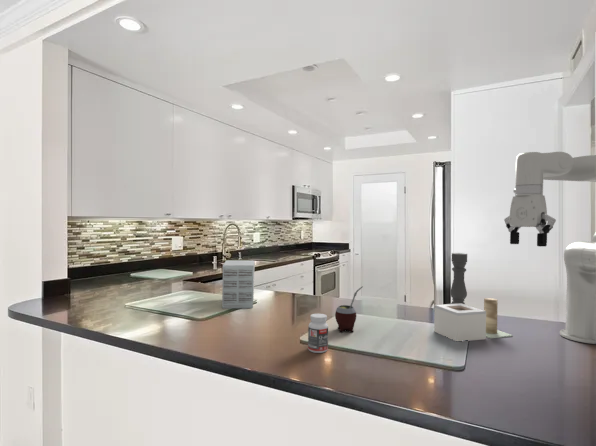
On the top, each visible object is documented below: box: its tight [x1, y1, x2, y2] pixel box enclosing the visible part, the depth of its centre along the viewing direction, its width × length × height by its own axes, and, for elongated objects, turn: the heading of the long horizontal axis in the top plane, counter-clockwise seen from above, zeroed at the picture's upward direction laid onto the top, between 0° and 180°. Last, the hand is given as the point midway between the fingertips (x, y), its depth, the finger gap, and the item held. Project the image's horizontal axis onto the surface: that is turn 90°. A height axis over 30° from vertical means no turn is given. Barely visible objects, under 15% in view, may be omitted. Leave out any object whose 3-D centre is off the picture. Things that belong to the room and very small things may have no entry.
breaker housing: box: [433, 303, 487, 342], centre depth 120 cm, size 11×11×9 cm
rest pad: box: [486, 329, 513, 339], centre depth 123 cm, size 9×9×1 cm
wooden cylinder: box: [483, 297, 499, 334], centre depth 123 cm, size 4×4×11 cm
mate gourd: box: [334, 286, 364, 334], centre depth 124 cm, size 8×8×15 cm
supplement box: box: [221, 259, 255, 309], centre depth 160 cm, size 17×13×18 cm
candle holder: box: [449, 252, 468, 305], centre depth 143 cm, size 6×6×25 cm
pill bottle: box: [307, 313, 329, 354], centre depth 105 cm, size 6×6×10 cm
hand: (527, 245), depth 117 cm, fingers open, 9 cm apart
